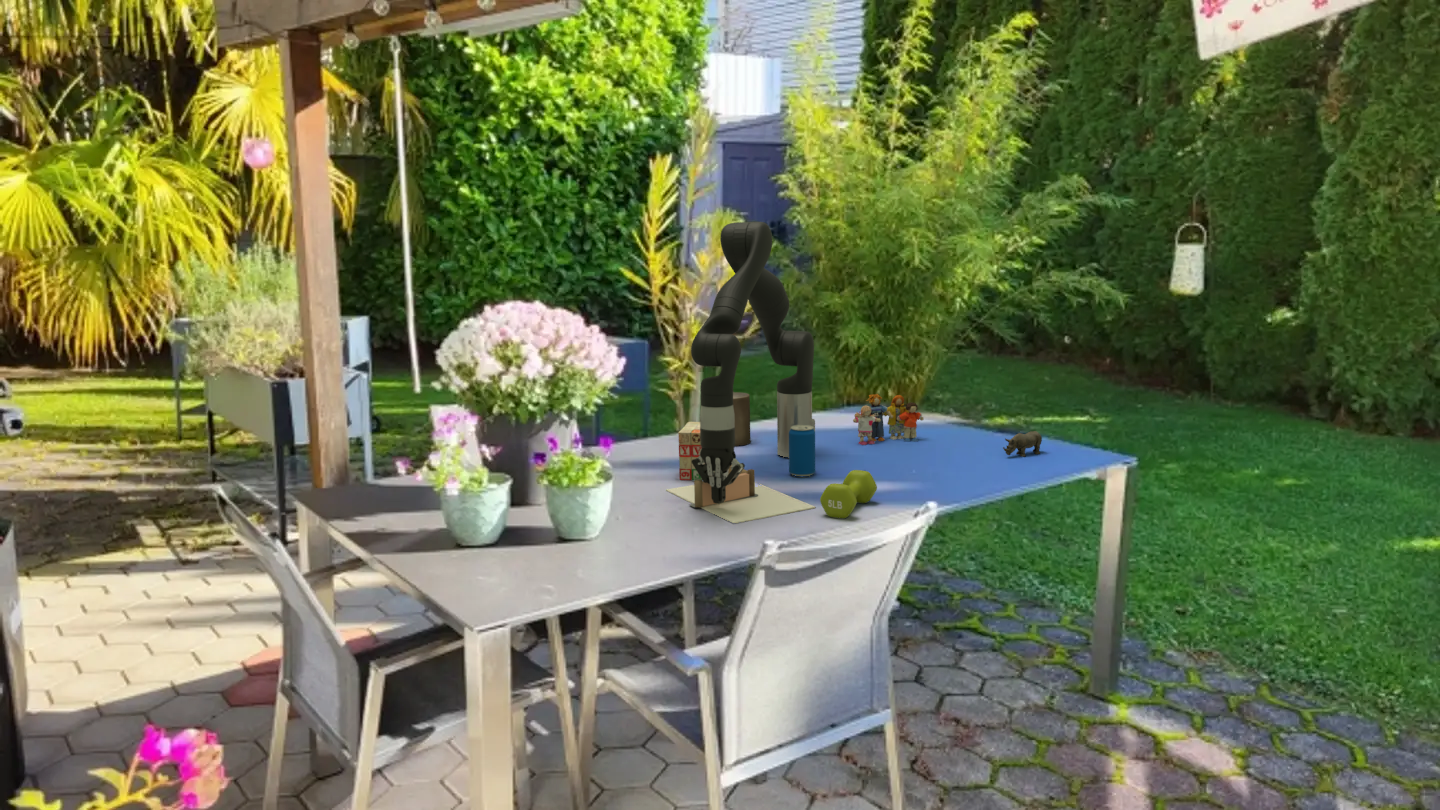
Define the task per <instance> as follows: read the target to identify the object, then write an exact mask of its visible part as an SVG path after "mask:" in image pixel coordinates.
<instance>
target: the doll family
mask: <svg viewBox="0 0 1440 810" xmlns="http://www.w3.org/2000/svg"><path fill="white" fill-rule="evenodd" d="M868 397H869V398H867V400H865V402H868V403H869V404H870V405H863V406H862V407H861V409H860V411H858V412H857V411H855V413H854V419H853V420H852V422H853V423H856V424H857V423H858V428H857V433H858V435H857V437H858V438H860V439H859V441H858V445H861V446H866V445H874V444H876V442H883V441H885V440H886V439H885V438H884V437H885V431H884V417H887V416H888V420H887V425H888V426H889V427H888V435H890V437H889V439H891V440H894V441H895V440H902V441H903V442H907V443H908V442H912V443H913V442H918V441H919V440H918V439H917V427H918V425H917V423H918V421H924V417H923V413H921V412H917V411H918V404H917V403H916V402H912V401H911V402H908V403H906V406H904V405H905V403H904V402H905V397H904V396H902V395H900V394H898V395H895V396H894V397H893V398H892V399H891V402H890V406H888V407H887V406H886V405H883V404H881V402H882V401H881V400H883V397H882V396H880V395H879V393H876V394H873V393H872V394H869V395H868ZM902 434H903V435H902ZM865 437H866V438H867V440H865Z"/></svg>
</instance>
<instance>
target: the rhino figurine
mask: <svg viewBox="0 0 1440 810" xmlns="http://www.w3.org/2000/svg"><path fill="white" fill-rule="evenodd" d="M1004 440H1005V441H1006V442H1008V445H1006V448H1005V447H1004V446H1003V447H1002V449H1003V451H1004V452H1005V454H1006V455H1007V456H1009V455H1011V454H1013V453H1014V452H1015V451H1016V450H1017V452H1016V453H1015V454H1016V455H1019V457H1022V458H1023V457H1024V458H1025V457H1026V449H1030V448H1033V449H1032V452H1033V454H1035V455H1040V453H1041V452H1040V449H1041V444H1042V441H1043V437H1042V435H1041V433H1039V432H1038V431H1036V430H1035V431H1034V430H1033V431H1029V432H1027V433H1025V434H1024V433H1020V432H1019V433H1017V434H1015V435H1014V436H1013V437H1011V438H1010V439H1008V438H1006V437H1004Z"/></svg>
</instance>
